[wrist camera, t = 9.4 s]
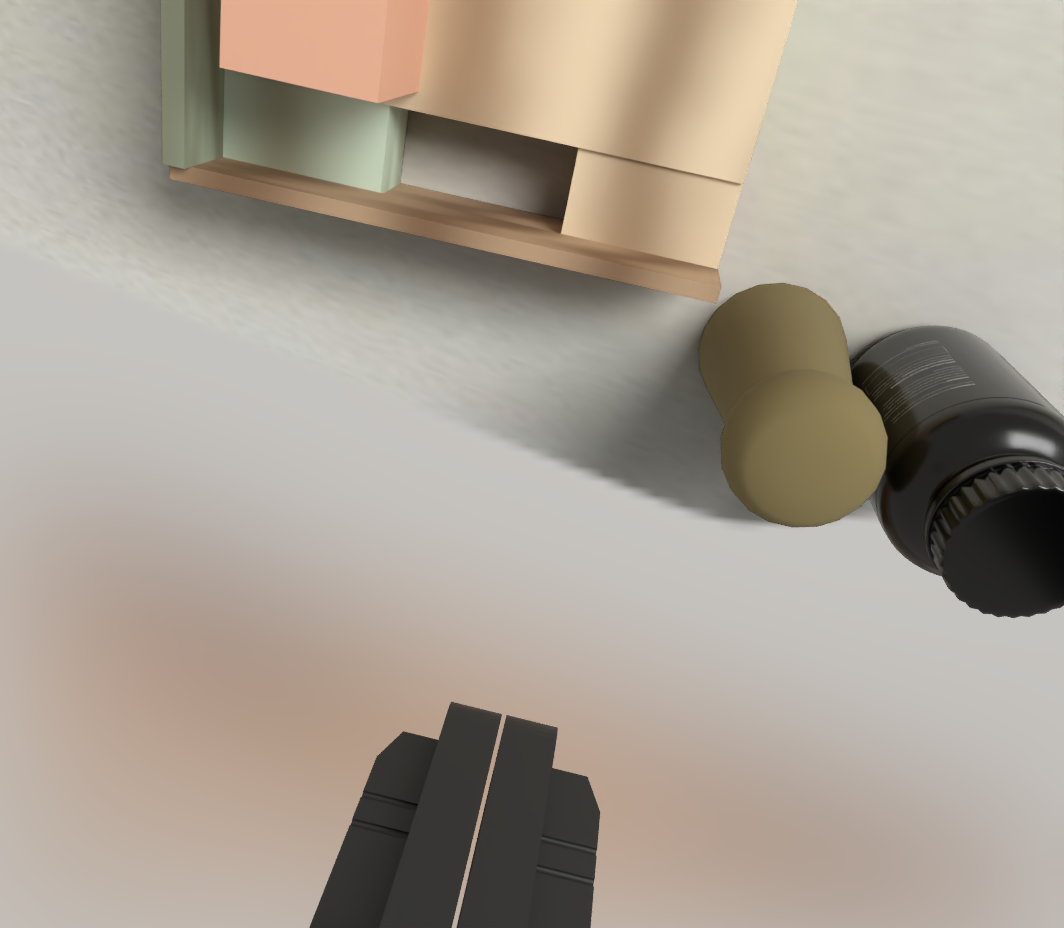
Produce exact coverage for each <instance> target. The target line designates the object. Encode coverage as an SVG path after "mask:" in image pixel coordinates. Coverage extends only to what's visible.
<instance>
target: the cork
mask: <svg viewBox="0 0 1064 928" xmlns="http://www.w3.org/2000/svg"><path fill="white" fill-rule="evenodd" d="M699 370H700V372H701V375H702V377H703V380H704V382H705V385H706V387H707V389H708V391H709V393H710V395H711V397H712V399H713V401H714V403H715V405H716V407H717V409H718V411H719V413H720V415H721V417H722V419H723V421H724V423H725V426H724V429H723V432H722V435H721V463H722V469H723V472H724V474H725V477H726V479H727V482H728V484H729V486H730V489H731V490H732V491H733V492H734V494H735V495H736V496H737V497H738V498H739V499H740V501H741V502H742V503H743V504H744V505H745V506H746V507H747V508H748V509H749V510H750V511H751V512H753V513H755V514H756V515H758V516H760V517H762V518H763V519H765V520H767V521H769V522H772V523H777V524H781V525H785V526H789V527H814V526H815V527H817V526H821V525H824V524H827V523H831V522H834V521H837V520H840V519H841V518H843V517H845V516H846V515H848V514H849V513H851V512H853V511H854V510H856V509H857V508H859V507H861V505H862V504H863V503H864V502H865V501H866V500H867V499H868V498H869V497H870V495H871V494H872V493H873V492H874V491H875V490H876V489H877V486H878V484H879V482H880V480H881V477H882V475H883V473H884V471H885V468H886V456H887V440H888V437H887V434H886V431H885V428H884V425H883V421H882V418H881V415H880V414H879V412H878V410H877V409H876V407H875V406H874V405H873V404H872V402H871V401H870V400H869V399H868V397H867V396H866V395H865V394H864V392H863V391H862V390H861V389H859V388H857V387H856V386H854V385H853V383H852V376H851V369H850V362H849V355H848V348H847V341H846V336H845V333H844V330H843V327H842V324H841V321H840V317H839V316H838V315H837V314H836V312H835V311H834V310H833V309H832V307H831V306H830V305H829V304H828V302H827V301H826V300H825V299H823V298H821V297H820V296H818V295H817V294H815V293H813V292H812V291H810V290H808V289H807V288H803V287H799V286H795V285H790V284H786V283H776V284H764V285H758V286H755V287H752V288H750V289H747V290H745V291H742V292H740V293H737V294H736V295H734V296H733V297H732V298H730V299H729V300H728V301H727V302H725V303H724V304H723V305H721V306H720V307H719V308H718V309H717V310H716V312H715V313H714V315H713V316H712V318H711V319H710V320H709V322H708V323H707V325H706V326H705V328H704V331H703V335H702V338H701V341H700V345H699Z"/></svg>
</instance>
